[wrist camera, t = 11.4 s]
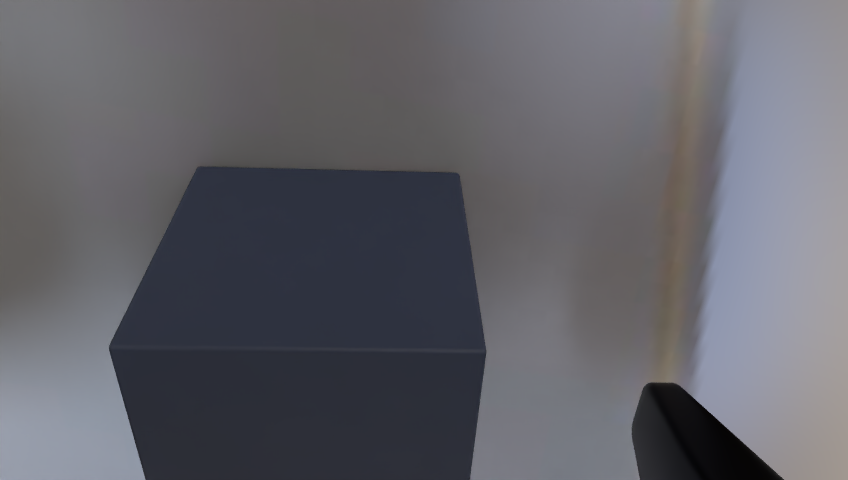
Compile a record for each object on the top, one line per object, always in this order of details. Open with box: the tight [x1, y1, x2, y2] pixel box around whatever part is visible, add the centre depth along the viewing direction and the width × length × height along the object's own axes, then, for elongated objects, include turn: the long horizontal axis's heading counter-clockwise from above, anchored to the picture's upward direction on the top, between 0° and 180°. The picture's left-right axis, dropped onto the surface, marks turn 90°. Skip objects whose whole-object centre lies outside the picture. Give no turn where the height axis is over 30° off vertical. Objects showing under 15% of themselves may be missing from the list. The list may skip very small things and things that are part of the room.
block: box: [109, 167, 486, 480], centre depth 10 cm, size 4×4×4 cm
